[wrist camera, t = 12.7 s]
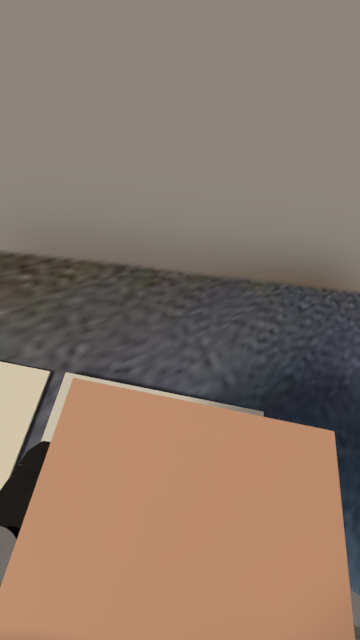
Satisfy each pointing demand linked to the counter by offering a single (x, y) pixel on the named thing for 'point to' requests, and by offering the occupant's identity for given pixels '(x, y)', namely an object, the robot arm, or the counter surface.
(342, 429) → the counter surface
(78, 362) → the counter surface
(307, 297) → the counter surface
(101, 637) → the block
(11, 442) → the cream tile
